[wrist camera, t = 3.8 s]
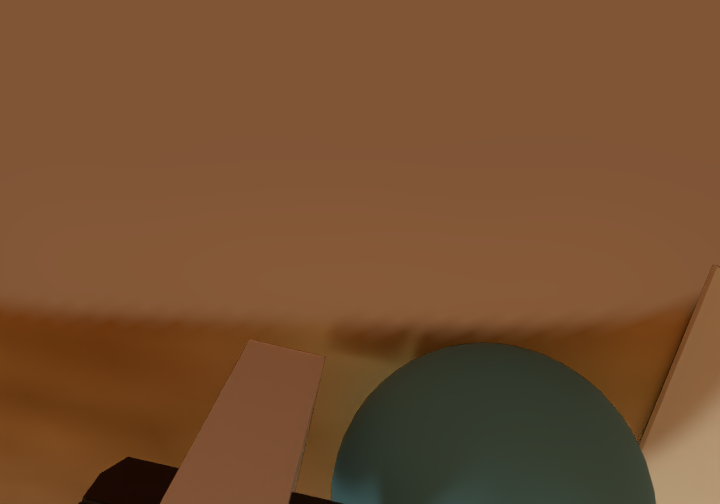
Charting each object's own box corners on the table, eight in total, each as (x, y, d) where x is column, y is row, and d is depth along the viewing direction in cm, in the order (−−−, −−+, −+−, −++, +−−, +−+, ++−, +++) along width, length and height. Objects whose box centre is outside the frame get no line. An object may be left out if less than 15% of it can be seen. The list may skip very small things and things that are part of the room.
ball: (551, 555, 17) (637, 810, 11) (314, 499, 17) (278, 729, 11) (636, 336, 15) (788, 501, 10) (375, 272, 15) (370, 400, 9)
